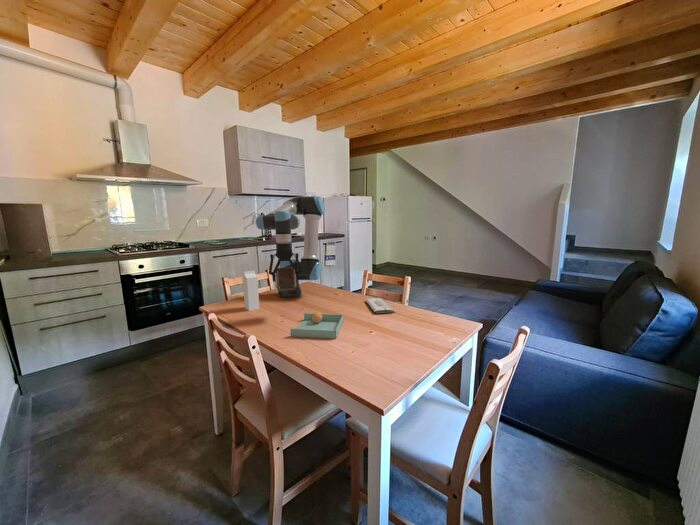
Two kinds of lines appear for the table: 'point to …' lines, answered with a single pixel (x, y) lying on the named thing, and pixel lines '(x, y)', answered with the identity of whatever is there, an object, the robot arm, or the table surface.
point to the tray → (319, 326)
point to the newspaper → (379, 305)
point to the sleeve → (285, 278)
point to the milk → (250, 290)
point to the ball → (317, 317)
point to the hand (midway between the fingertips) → (285, 287)
